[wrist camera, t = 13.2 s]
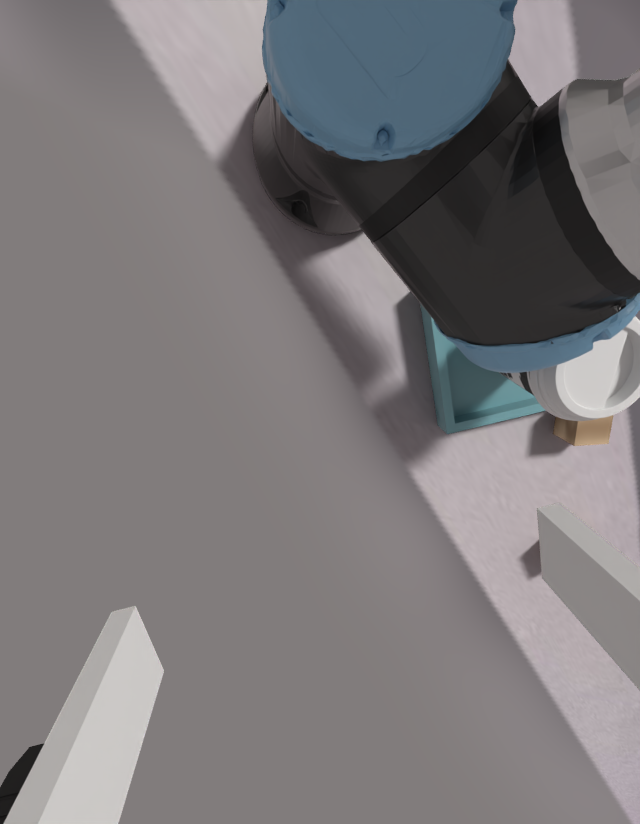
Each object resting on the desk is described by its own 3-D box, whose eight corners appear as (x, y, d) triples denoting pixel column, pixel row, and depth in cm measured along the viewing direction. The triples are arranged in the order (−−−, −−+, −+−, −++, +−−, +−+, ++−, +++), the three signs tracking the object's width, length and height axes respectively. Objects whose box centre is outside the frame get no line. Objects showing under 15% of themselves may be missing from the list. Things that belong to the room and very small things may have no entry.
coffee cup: (516, 398, 49) (612, 448, 35) (448, 359, 47) (519, 394, 33) (568, 323, 47) (692, 343, 33) (498, 278, 45) (598, 278, 31)
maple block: (557, 401, 51) (579, 411, 47) (589, 399, 51) (614, 409, 47) (552, 433, 52) (574, 445, 48) (584, 431, 52) (608, 443, 48)
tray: (417, 285, 45) (426, 285, 42) (564, 250, 46) (583, 248, 43) (437, 425, 50) (447, 434, 47) (570, 393, 50) (588, 400, 48)
